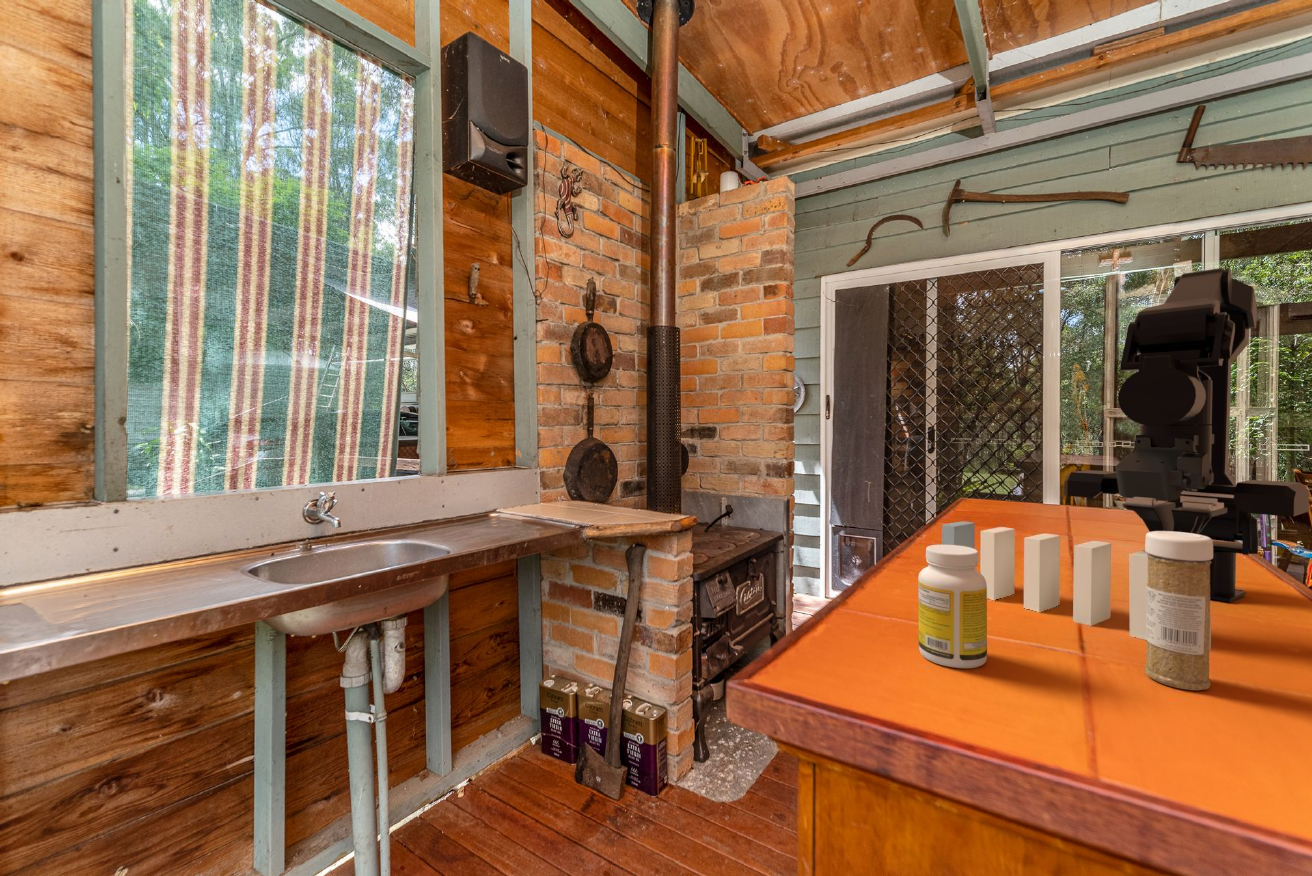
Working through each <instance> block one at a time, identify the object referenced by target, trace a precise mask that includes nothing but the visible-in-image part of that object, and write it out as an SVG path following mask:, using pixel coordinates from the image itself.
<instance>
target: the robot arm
mask: <svg viewBox="0 0 1312 876" xmlns="http://www.w3.org/2000/svg"><path fill="white" fill-rule="evenodd" d="M1257 305H1258V304H1257V300H1256V293H1255V287H1253V286H1251V285H1249V284H1247V283H1244V282H1242V281H1240V280H1238V279H1236V278H1233V275H1232V272H1231V268H1226V269H1224V268H1223V267H1219V268H1211V269H1205V270H1204V269H1203V270H1200V271H1199V270H1198V271H1192V272H1186V273H1185V272H1183V273H1182V274H1180V275H1178V276H1175V278H1174V282H1173V289H1172V291H1171V292H1170V294H1168V296H1167V297H1166V300H1165V301H1164V302H1163V303H1162V304H1159V305H1153V306H1149V307H1145V308H1144V309H1142V310H1140V311H1139V312H1138V313H1136V316H1135V320H1134V321H1131V322H1129V323H1128V327H1127V332H1126V337H1125V342H1124V345H1123V351H1122V354H1121V355H1122V356H1121V359H1120V371H1121V372H1134V373H1132V374H1131V375H1130V376H1129V377H1128V378H1127V379H1125V381H1124V382H1123V383H1122V384H1121V386H1120V389H1119V391H1118V393H1117V401H1118V405H1119V408H1120V410H1121V412H1122V413H1123V415H1125V417H1127V418H1128V419H1129V420H1131V421H1133V422H1134V423H1137V424H1139V434H1135V439H1134V443H1133V444H1134V446H1133V450H1132V452H1131V453H1129V454H1127V455H1125V457H1124V458H1123V459H1121V461H1119V462H1118V463H1117V464H1116V465H1115V471H1108V470H1093V469H1092V470H1091V469H1087V470H1086V469H1085V470H1078V471H1071V472H1070V473H1068V475H1066V478H1065V480H1064V486H1063V487H1064V488H1063V489H1064V490H1063V494H1064V496H1067V497H1074V498H1088V499H1095V498H1097V497H1098V496H1099V495H1100V494H1106V495H1107V494H1108V495H1119V497H1120V496H1121V497H1123V498H1125V499H1126V500H1125V503H1122V508H1123V509H1124V510H1130V511H1133V512H1134V513H1136V515H1137V516H1138V517H1139V518H1140V519H1141V520H1142V522H1144V524H1145V526H1146V528H1147V530H1148V531H1149V532H1153V531H1173V532H1185V533H1193V534H1199V535H1203V536H1207V537H1209V538H1211V539H1212V540H1213V559H1211V560H1210V561H1211V564H1210V600H1211V599H1212V600H1214V601H1215V600H1216V601H1222V602H1225V603H1227V602H1228V603H1232V602H1234V601H1235V600H1238V599H1239V598H1241V597H1244V596H1245V595H1246V594H1247V592H1246V590H1242V589H1237V588H1236V583H1237V582H1236V577H1237V576H1236V575H1237V573H1236V571H1237V570H1236V569H1237V568H1236V566H1237V554H1241V555H1242V556H1243V555H1244V556H1249V555H1254V554H1255V555H1258V554H1259V529H1258V518H1256V517H1255V516H1254V514H1257V515H1266V516H1267V515H1268V516H1277V517H1296V516H1299V515H1302V514H1306V513H1308V512H1310V511H1309V510H1310V508H1309V507H1310V492H1309V489H1308V488H1307V487H1306V486H1305V485H1303V483H1301V482H1297V481H1281V480H1280V481H1279V480H1278V481H1277V480H1264V479H1263V480H1261V479H1248V480H1244V481H1238V482H1237V483H1236V482H1235V481H1234V479H1233V478H1232V477H1231V475H1230V474H1229V449H1230V448H1229V446H1230V422H1231V421H1230V416H1231V411H1230V410H1231V390H1232V387H1231V386H1232V385H1231V384H1232V364H1233V363H1234V362H1235V360H1236V359H1237V358H1238V357H1239V355H1240V354H1241V353H1242V352H1243V351H1244V350H1245V348H1246V347H1247V346H1248V345H1249V343H1250V341H1249V339H1250V330H1252V329H1256V328H1257V322H1258V321H1257V317H1258V312H1257V311H1258V309H1257V308H1258V307H1257ZM1237 541H1239V542H1237ZM1240 541H1241V543H1240Z"/></svg>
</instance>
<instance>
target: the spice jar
mask: <svg viewBox="0 0 1312 876" xmlns="http://www.w3.org/2000/svg"><path fill="white" fill-rule="evenodd" d="M1213 541H1214V540H1212V539H1211V538H1209V537H1207V536H1203V535H1199V534H1193V533H1185V532H1173V531H1153V532H1147V533H1146V534H1145V543H1144V544H1145V547H1144V550H1145V551H1146V552H1147V553H1148V554H1147V557H1148V584H1147V607H1146V640H1145V641H1146V664H1145V665H1146V666H1145V668H1144V672H1145V674H1146V676H1147V677H1149V678H1150V679H1152V680H1153V681H1156V682H1158V683H1160V684H1161V685H1162V684H1163V685H1165V686H1169V687H1171V688H1174V689H1180V690H1186V691H1187V690H1188V691H1203V690H1208V689H1209V688H1210V687H1211V685H1212V682H1211V679H1210V651H1211V649H1212V648H1211V647H1212V644H1211V643H1212V639H1211V638H1212V616H1211V599H1210V564H1211V561H1210V560H1211V559H1213Z"/></svg>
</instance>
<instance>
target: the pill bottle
mask: <svg viewBox="0 0 1312 876" xmlns="http://www.w3.org/2000/svg"><path fill="white" fill-rule="evenodd" d="M925 559H926V562H927V563H928V566H926V567H924V568H922V570H920V572H919V574H918V579H917V582H918V583H917V584H918V587H917V589H918V597H917V598H918V648H919V652H920V654H921V656H922V657H924V658H925V659H926V660H928V661H930V662H931V663H934V664H938V665H940V666H944V667H949V668H955V669H975V668H979V667H981V666H983V665H984V664H985V663H986V662H987V660H988V659H987V658H988V600H987V584H986V580H985V578H984V576H983V575H982V574H981V573H980V572H979V571H978V570H976V568H977V567H978V566H979V551H978V550H977V549H973V548H970V547H965V546H958V545H942V544H932V545H928V546H927V547H926V549H925Z"/></svg>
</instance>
